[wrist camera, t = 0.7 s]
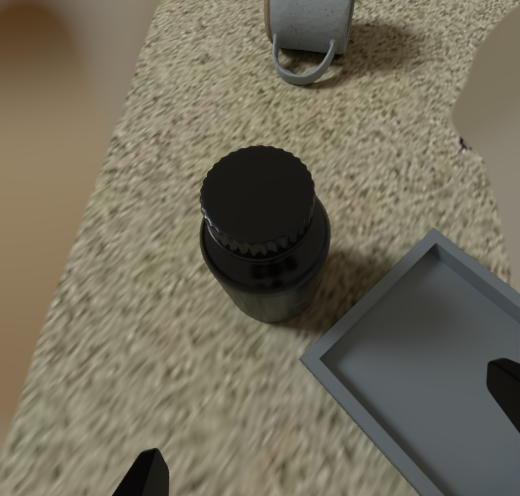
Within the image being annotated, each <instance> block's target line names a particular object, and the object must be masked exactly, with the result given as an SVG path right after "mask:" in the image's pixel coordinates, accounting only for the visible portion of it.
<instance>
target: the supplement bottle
mask: <svg viewBox="0 0 520 496" xmlns="http://www.w3.org/2000/svg"><path fill="white" fill-rule="evenodd" d="M314 188H315V184H314V182H313V180H312V175H311V173H310V172H309V171H308V170H307V167H306V165H305V164H303V163H301V161H300V159H299V158H297V157H294V156H293V154H292V153H290V152H286V151H284V150H283V149H280V148H275V147H273V146H267V147H266V146H263V145H260V146H249V147H247V148H240V149H239V150H237V151H235V152H231V153H230V154H229V155H228V156H225V157H222V158H221V160H220V161H219V162H217V163H216V164H214V166H213V168H212V169H211V170H210V171H208V173H207V177H206V178H205V179H204V180H203V186H202V188H201V190H200V191H201V197H200V203H201V212H202V214H203V215H204V216H203V219H202V223H201V227H200V247H201V252H202V255H203V258H204V260H205V262H206V264H207V266H208V268H209V269H210V271H211V272H212V274H213V275H214V276H215V278H216V279H217V280H218V282H219V283H220V284H221V286H222V287H223V288H224V290H225V291H226V292H227V294H228V295H229V296H230V298H231V299H232V300H233V302H234V303H235V304H236V305H237V306H238V308H239V309H240V310H241V311H243V312H244V313H245V314H247V315H248V316H250V317H251V318H254V319H256V320H259V321H263V322H269V323H276V322H283V321H287V320H290V319H292V318H294V317H296V316H298V315H299V314H301V313H302V312H303V311H304V310H305V309H306V308H307V307H308V306H309V305H310V304H311V302H312V301H313V299H314V297H315V295H316V293H317V290H318V287H319V284H320V280H321V276H322V273H323V269H324V265H325V262H326V258H327V255H328V251H329V246H330V238H331V227H330V221H329V218H328V215H327V212H326V210H325V208H324V206H323V204H322V203H321V201H320V200H319V198H318V197H317V196H316V194H315V191H314Z"/></svg>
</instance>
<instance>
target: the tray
mask: <svg viewBox="0 0 520 496" xmlns="http://www.w3.org/2000/svg"><path fill="white" fill-rule="evenodd" d="M499 358H508V359H510V360H513V361H515V362H518V363H520V294H519V293H518V292H517V291H515V290H514V289H513V288H512V287H510V286H509V285H508V284H506V283H505V282H504V281H502V280H501V279H500V278H498V277H497V276H496V275H495V274H493V273H492V272H491V271H489V270H488V269H487V268H485V267H484V266H483V265H481V264H480V263H479V262H478V261H476V260H475V259H474V258H472V257H471V256H470V255H468V254H467V253H466V252H464V251H463V250H462V249H461V248H459V247H458V246H457V245H455V244H454V243H453V242H451V241H450V240H449V239H447V238H446V237H445V236H444V235H442V234H441V233H440V232H438V231H437V230H436V229H434V228H433V229H432V230H431V231H430V232H429V233H428V234H427V235H426V236H425V237H424V238H423V239H422V240H421V241H420V242H419V243H418V244H417V245H416V246H414V247H413V248H412V249H411V250H410V251H409V252H408V253H407V254H406V255H405V256H404V257H403V258H402V259H401V260H400V261H399V262H398V263H397V264H396V265H395V266H394V267H393V268H392V269H391V270H390V271H389V272H388V273H387V274H386V275H385V276H384V277H383V278H382V279H381V280H380V281H379V282H378V283H377V284H376V285H375V286H373V287H372V288H371V289H370V290H369V291H368V292H367V293H366V294H365V295H364V296H363V297H362V298H361V299H360V300H359V301H358V302H357V303H356V304H355V305H354V306H353V307H352V308H351V309H350V310H349V311H348V312H347V313H346V314H345V315H344V316H343V317H342V318H341V319H340V320H339V321H338V322H337V323H336V324H335V325H334V326H333V327H331V328H330V329H329V330H328V331H327V332H326V333H325V334H324V335H323V336H322V337H321V338H320V339H319V340H318V341H317V342H316V343H315V344H314V345H313V346H312V347H311V348H310V349H309V350H308V351H307V352H306V353H305V354H304V355H303V356H302V357H301V358H300V359H299V360H300V361H301V362H302V363H303V364H304V365H305V366H306V367H307V369H308V370H309V371H310V372H311V373H312V374H313V375H314V377H315V378H316V379H317V380H318V381H319V382H320V383H321V384H322V386H323V387H324V388H325V389H326V390H327V391H328V392H329V393H330V395H331V396H332V397H333V398H334V399H335V400H336V401H337V402H338V404H339V405H340V406H341V407H342V408H343V409H344V410H345V411H346V413H347V414H348V415H349V416H350V417H351V418H352V419H353V421H354V422H355V423H356V424H357V425H358V426H359V427H360V428H361V430H362V431H363V432H364V433H365V434H366V435H367V436H368V437H369V439H370V440H371V441H372V442H373V443H374V444H375V445H376V446H377V448H378V449H379V450H380V451H381V452H382V453H383V454H384V455H385V457H386V458H387V459H388V460H389V461H390V462H391V463H392V465H393V466H394V467H395V468H396V469H397V470H398V471H399V472H400V474H401V475H402V476H403V477H404V478H405V479H406V480H407V481H408V483H409V484H410V485H411V486H412V487H413V488H414V489H415V490H416V492H417V493H418V494H419V495H420V496H520V433H519V432H518V431H517V429H516V428H515V427H514V425H513V424H512V423H511V421H510V420H509V419H508V417H507V416H506V414H505V413H504V412H503V410H502V409H501V408H500V406H499V405H498V404H497V402H496V401H495V399H494V398H493V397H492V395H491V394H490V392H489V391H488V388H487V385H486V377H487V364H488V362H489V361H491V360H495V359H499Z"/></svg>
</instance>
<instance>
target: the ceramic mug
mask: <svg viewBox="0 0 520 496" xmlns="http://www.w3.org/2000/svg"><path fill="white" fill-rule="evenodd" d="M354 3H355V0H264V21H265V29H266V33H267V37H268V39H269V41H270V42H271V43H272V44H273V46H272V55H273V62H274V65H275V68H276V71H277V73H278V74H279V76H280V77H281V78H282V79H284V80H285V81H287V82H289V83H291V84H296V85H306V84H310V83H312V82H314V81H316V80H317V79H319V78H320V77H321V76H322V75H323V74H324V73H325V72H326V70H327V69H328V67H329V65H330V63H331V61H332V59H333V57H334V54H344V53H345V51H346V47H347V43H348V38H349V33H350V27H351V22H352V16H353V11H354ZM279 47H282V48H286V49H298V50H307V51H314V52H321V53H327V55H326V57H325V58H324V60H323V62H322V63H321V64H320V65H319V66H318V67H316V68H315V69H313V70H312V71H311V72H309V73H307V74H304V75H295V74H293V73H292V72H291V71H289V70H285V69H284V67H283V66H281V65H280V64H279V61H278V51H279Z"/></svg>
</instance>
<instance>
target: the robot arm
mask: <svg viewBox="0 0 520 496" xmlns="http://www.w3.org/2000/svg"><path fill="white" fill-rule="evenodd" d="M486 385H487V388H488V391H489V392H490V394H491V395H492V397H493V398H494V399H495V401H496V402H497V404H498V405H499V406H500V408H501V409H502V410H503V412H504V413H505V414H506V416H507V417H508V419H509V420H510V421H511V423H512V424H513V425H514V427H515V428H516V429H517V431H518V432H519V433H520V363H518V362H515V361H513V360H510V359H508V358H499V359H495V360H491V361H489V362H488V364H487V377H486ZM112 496H169V470H168V466H167V464H166V462H165V460H164V458H163V457H162V455H161V453H160V451H159V449H157V448H153V449H149V450H145V451H143V452H141V453H140V454H139V456H138V457H137V459H136V460H135V462H134V463H133V465H132V466H131V468H130V469H129V471H128V472H127V474H126V475H125V477H124V478H123V480H122V481H121V483H120V484H119V486H118V487H117V489H116V490H115V492H114V493H113V495H112Z"/></svg>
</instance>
